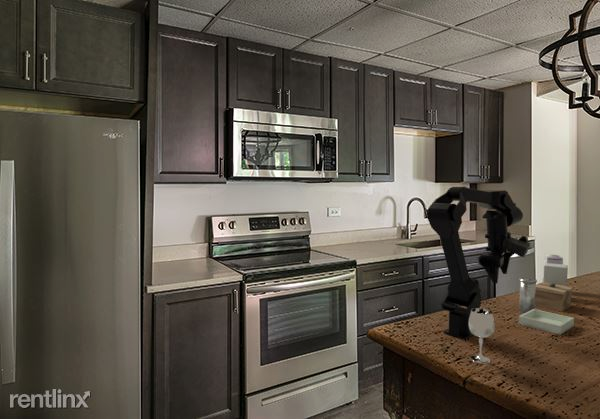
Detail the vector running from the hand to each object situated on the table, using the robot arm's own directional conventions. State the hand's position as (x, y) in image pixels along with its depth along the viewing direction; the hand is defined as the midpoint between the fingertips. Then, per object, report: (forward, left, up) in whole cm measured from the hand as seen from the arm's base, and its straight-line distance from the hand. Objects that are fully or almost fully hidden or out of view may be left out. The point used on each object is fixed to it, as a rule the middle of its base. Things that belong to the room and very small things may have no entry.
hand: (500, 278), depth 123 cm
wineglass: (-33, -10, -13) cm, 37 cm away
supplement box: (+41, -2, -14) cm, 44 cm away
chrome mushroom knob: (+16, -2, -13) cm, 21 cm away
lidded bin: (+29, -5, -13) cm, 33 cm away
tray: (+6, -11, -13) cm, 18 cm away
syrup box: (+51, +2, -14) cm, 53 cm away
